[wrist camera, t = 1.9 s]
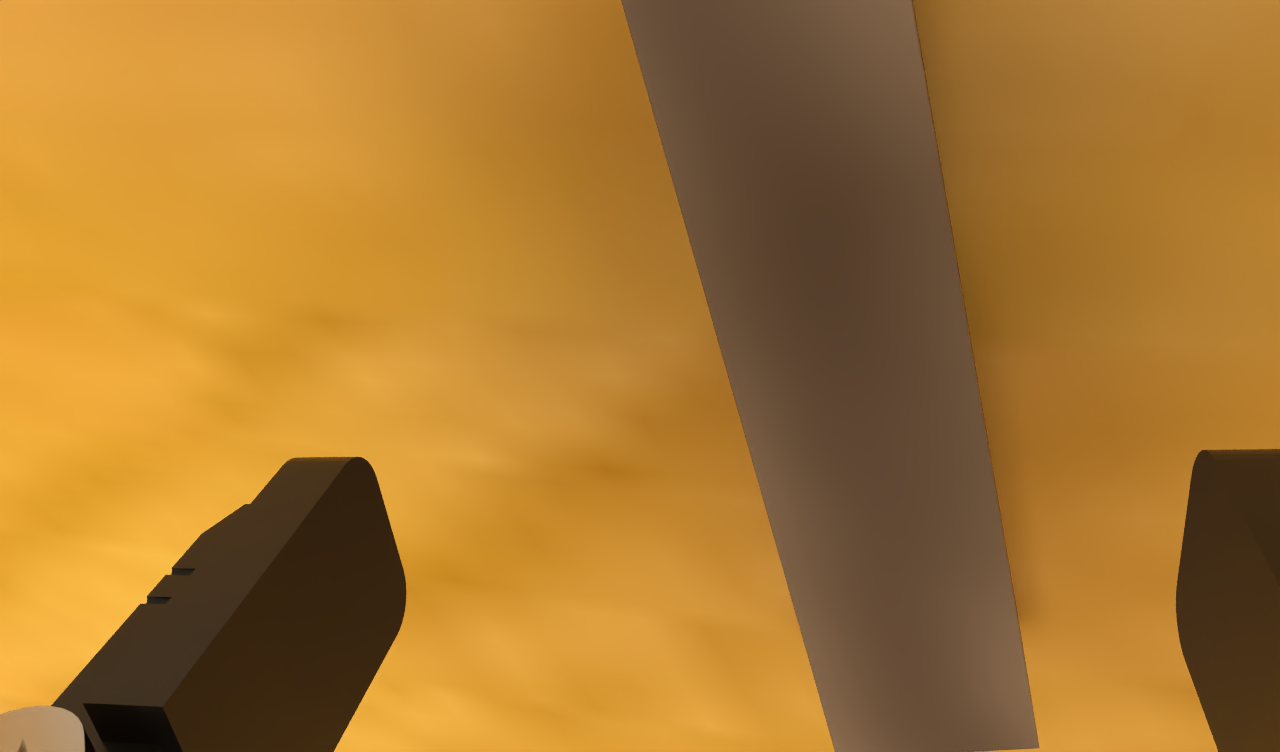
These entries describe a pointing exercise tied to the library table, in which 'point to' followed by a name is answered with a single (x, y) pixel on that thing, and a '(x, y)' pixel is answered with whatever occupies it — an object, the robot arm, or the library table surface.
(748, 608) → the library table surface
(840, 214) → the walnut bar
